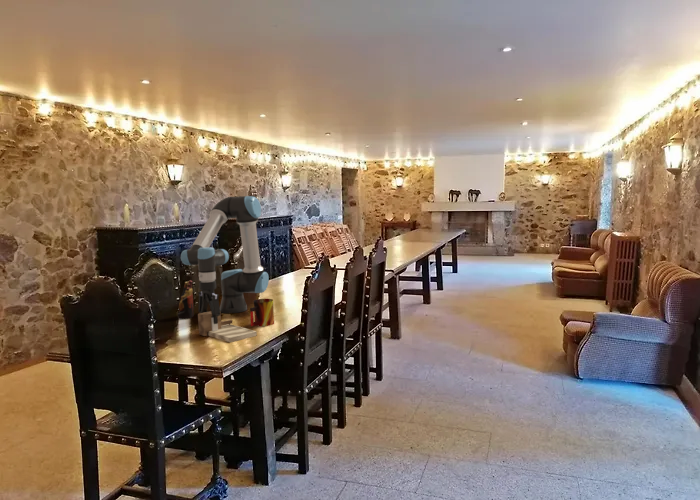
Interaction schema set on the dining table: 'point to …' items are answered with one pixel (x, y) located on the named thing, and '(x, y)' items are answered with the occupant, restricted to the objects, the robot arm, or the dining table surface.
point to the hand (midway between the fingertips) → (210, 328)
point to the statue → (186, 302)
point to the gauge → (209, 322)
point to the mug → (262, 312)
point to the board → (232, 333)
